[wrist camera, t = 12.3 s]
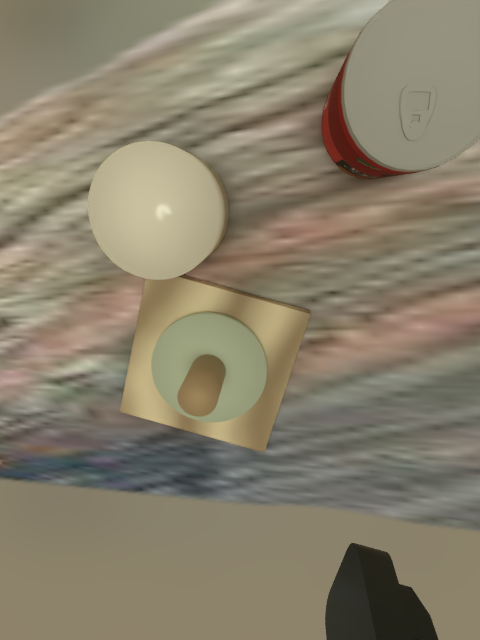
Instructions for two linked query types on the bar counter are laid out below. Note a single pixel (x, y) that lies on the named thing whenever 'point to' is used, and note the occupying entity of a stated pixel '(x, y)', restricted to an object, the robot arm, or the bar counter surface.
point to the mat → (256, 312)
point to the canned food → (407, 90)
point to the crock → (157, 209)
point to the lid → (209, 367)
